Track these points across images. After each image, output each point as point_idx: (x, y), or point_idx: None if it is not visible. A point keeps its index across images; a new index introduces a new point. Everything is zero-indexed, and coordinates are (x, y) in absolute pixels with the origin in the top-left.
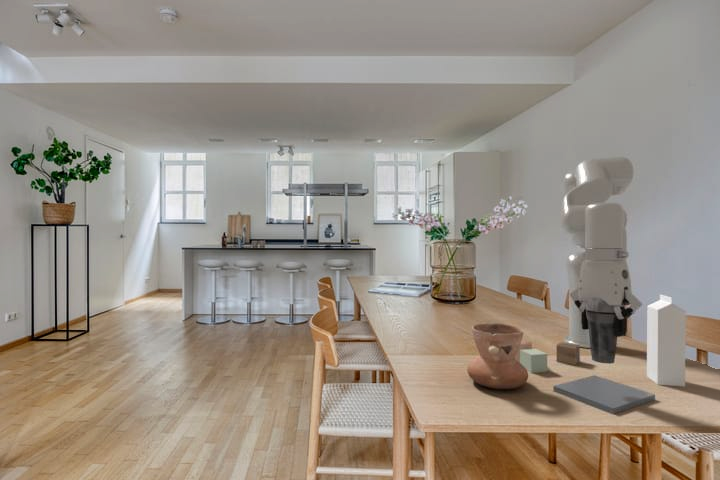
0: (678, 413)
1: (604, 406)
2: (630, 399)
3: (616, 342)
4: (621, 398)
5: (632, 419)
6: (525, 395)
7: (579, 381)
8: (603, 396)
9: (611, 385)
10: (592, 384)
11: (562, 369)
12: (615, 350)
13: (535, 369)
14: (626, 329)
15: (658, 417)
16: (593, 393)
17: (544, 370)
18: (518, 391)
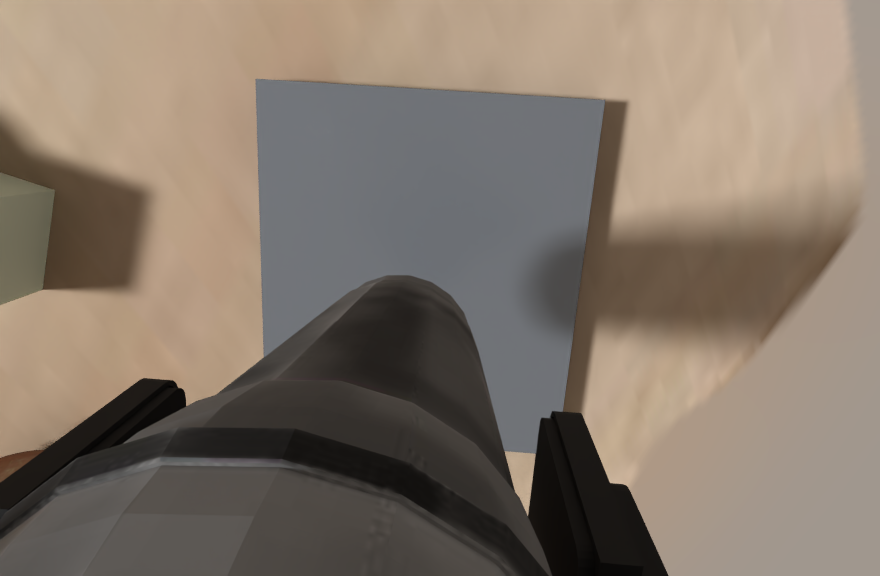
0: (728, 193)
1: (518, 447)
2: (557, 291)
3: (486, 387)
4: (526, 316)
5: (621, 426)
6: None
7: (284, 265)
8: None
9: (405, 172)
10: (344, 247)
11: (56, 66)
12: (482, 367)
13: (31, 268)
14: (631, 507)
15: (682, 319)
16: None
17: (46, 209)
18: None
